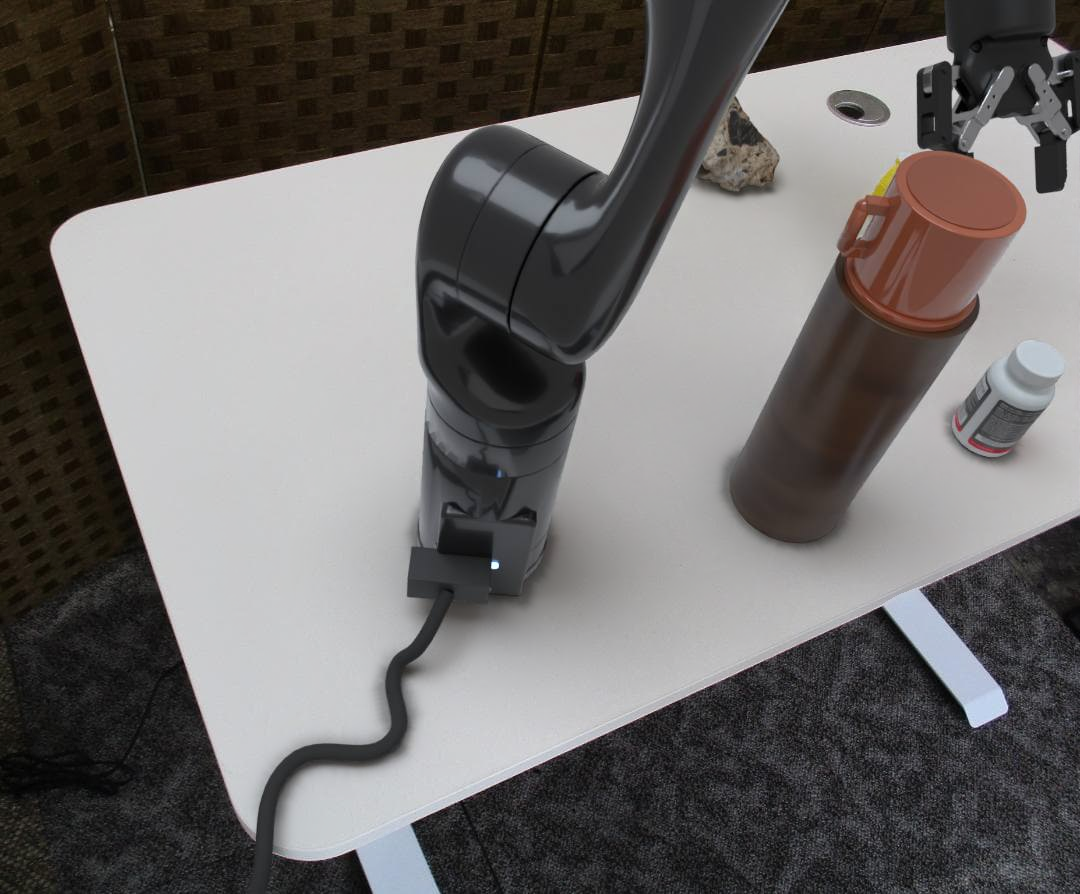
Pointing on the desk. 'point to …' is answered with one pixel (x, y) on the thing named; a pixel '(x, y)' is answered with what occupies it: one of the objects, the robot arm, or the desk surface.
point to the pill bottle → (1008, 399)
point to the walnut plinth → (834, 412)
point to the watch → (889, 175)
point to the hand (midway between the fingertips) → (1007, 198)
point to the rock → (739, 153)
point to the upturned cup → (930, 240)
